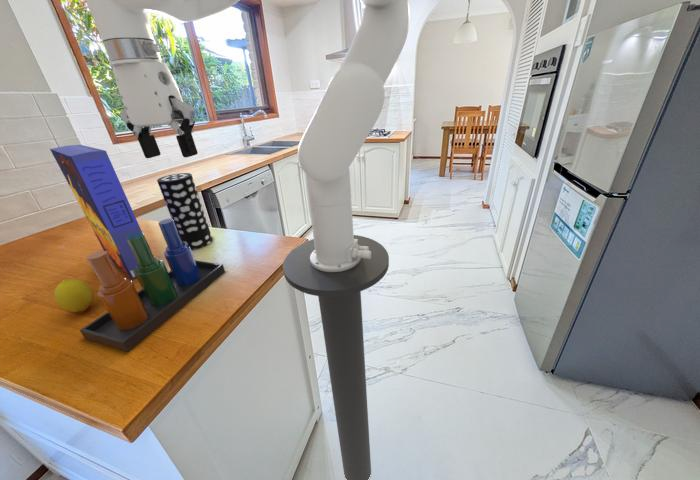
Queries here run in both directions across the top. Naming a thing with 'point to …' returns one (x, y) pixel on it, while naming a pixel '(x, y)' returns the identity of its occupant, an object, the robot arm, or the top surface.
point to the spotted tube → (185, 209)
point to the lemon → (73, 295)
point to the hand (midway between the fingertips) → (171, 156)
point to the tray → (150, 312)
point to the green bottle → (151, 272)
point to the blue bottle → (179, 255)
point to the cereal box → (101, 200)
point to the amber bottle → (117, 293)
